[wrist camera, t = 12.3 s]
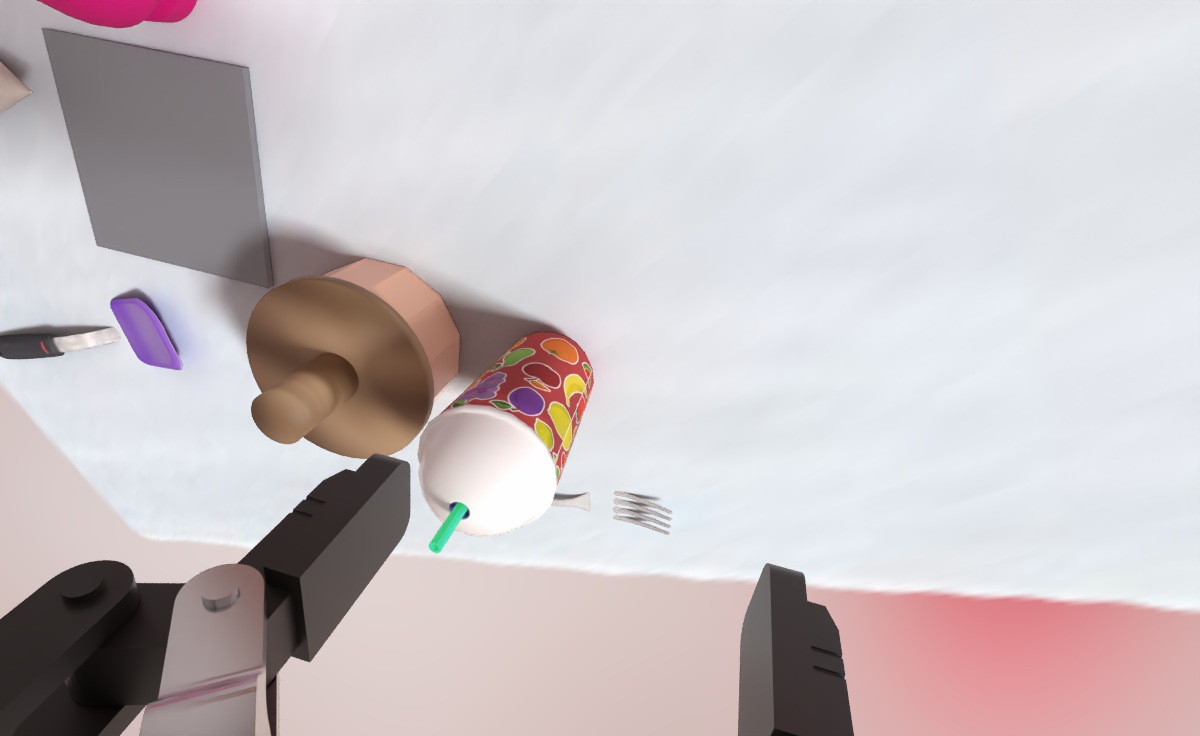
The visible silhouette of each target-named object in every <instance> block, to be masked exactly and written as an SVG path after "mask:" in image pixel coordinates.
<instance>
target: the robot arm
mask: <svg viewBox="0 0 1200 736" xmlns="http://www.w3.org/2000/svg"><path fill="white" fill-rule="evenodd" d="M409 518H410V465H409V463H408V462H406V461H403V460H399V459H396V458H392V457H389V456H385V455H381V454H378V453H375V454H373V455H371V456H370V457H369V458H368V459H367V460H366V461H365V462H364V463H363V464H362V465H361V466H360V467H359V468H358V470H357V471H356V472H355V471H351V470H348V469H345V470H343V471H341V472H339V473H337V474H335V475H333V476H331V477H329V478H327V479H325V480H323V481H322V482H321V483H320V484H319V485H318V486H317V487H316V488H315V489H314V490H313V491H312V492H311V493H310V494H309V495H308V496H307V498H306V500H303V501H302V502H301V503H300V504H298V505H297V506H296V507H295V508H294V509H293V512H292V513H289V514H288V515H287V516H286V517H285V518H284V519H283V520H282V521H281V522H280V523H279V524H278V525H277V526H276V527H275V528H274V529H273V530H272V531H271V532H270V533H269V534H268V535H267V536H265V537H264V538H263V539H262V540H261V541H260V542H259V543H258V544H257V545H256V546H255V547H254V548H253V549H252V550H251V551H250V552H249V553H248V554H247V555H246V556H245V557H244V558H243V559H242V560H241V561H240V562H238V563H237V564H226V565H220V566H216V567H213V568H211V569H208V570H205V571H203V572H201V573H200V574H198V575H196V576H195V577H193V578H192V579H191V580H189V581H188V582H187V583H180V584H176V583H171V584H169V583H136V582H135V578H134V575H133V572H132V570H131V569H130V568H129V567H128V566H127V565H125V564H123V563H121V562H117V561H109V560H103V561H94V562H89V563H85V564H81V565H78V566H75V567H73V568H71V569H69V570H66V571H64V572H62V573H60V574H59V575H57V576H55V577H54V578H52V579H51V580H49V581H48V582H47V583H46V584H44V585H43V586H42V587H40V588H39V589H38V590H37V591H35V592H34V593H33V594H32V595H30V596H29V597H28V598H27V599H25V600H24V601H23V602H22V603H20V604H19V605H18V606H17V607H15V608H14V609H13V610H12V611H10V612H9V613H8V614H7V615H5V616H4V617H3V618H1V619H0V736H120V734H121V733H122V732H123V731H124V730H125V729H126V728H127V727H128V725H129V724H130V723H131V722H132V721H133V720H134V718H135V717H136V716H137V715H138V714H139V713H140V712H141V710H142V709H143V708H144V707H145V706H146V705H147V706H146V709H145V711H144V715H143V719H142V724H141V730H140V735H139V736H279V671H280V669H281V668H282V667H283V665H284V664H285V663H286V662H287V660H288V659H289V658H290V657H291V656H292V657H295V658H298V659H301V660H304V661H307V662H310V661H311V660H312V659H313V658H314V656H315V655H316V654H317V652H318V651H319V650H320V648H321V647H322V646H323V644H324V643H325V641H326V640H327V639H328V637H329V636H330V635H331V633H332V632H333V631H334V629H335V628H336V627H337V625H338V624H339V623H340V621H341V620H342V619H343V617H344V616H345V615H346V613H347V612H348V611H349V609H350V608H351V606H352V605H353V604H354V602H355V601H356V600H357V598H358V597H359V596H360V594H361V593H362V592H363V590H364V589H365V588H366V586H367V585H368V584H369V582H370V581H371V579H372V578H373V577H374V575H375V574H376V573H377V571H378V570H379V569H380V567H381V566H382V565H383V563H384V562H385V561H386V559H387V558H388V557H389V555H390V554H391V553H392V551H393V550H394V548H395V547H396V546H397V544H398V543H399V542H400V540H401V539H402V537H403V535H404V533H405V531H406V528H407V526H408V522H409ZM841 657H842V650H841V643H840V636H839V630H838V628H837V626H836V625H835V623H834V621H833V619H832V618H831V616H830V614H829V612H828V610H827V609H826V607H825V606H822V605H819V604H815V603H812V602H808V601H807V594H806V584H805V577H804V574H803V573H801V572H798V571H794V570H791V569H787V568H783V567H780V566H776V565H773V564H769V563H767V564H766V565H765V566H764V568H763V571H762V573H761V576H760V578H759V581H758V583H757V586H756V589H755V591H754V594H753V596H752V599H751V601H750V604H749V606H748V609H747V612H746V615H745V619H744V622H743V628H742V634H741V646H740V683H739V722H738V736H854V733H853V726H852V720H851V712H850V706H849V699H848V691H847V685H846V680H845V679H844V677H845V671H844V664H843V659H842V658H841Z"/></svg>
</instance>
